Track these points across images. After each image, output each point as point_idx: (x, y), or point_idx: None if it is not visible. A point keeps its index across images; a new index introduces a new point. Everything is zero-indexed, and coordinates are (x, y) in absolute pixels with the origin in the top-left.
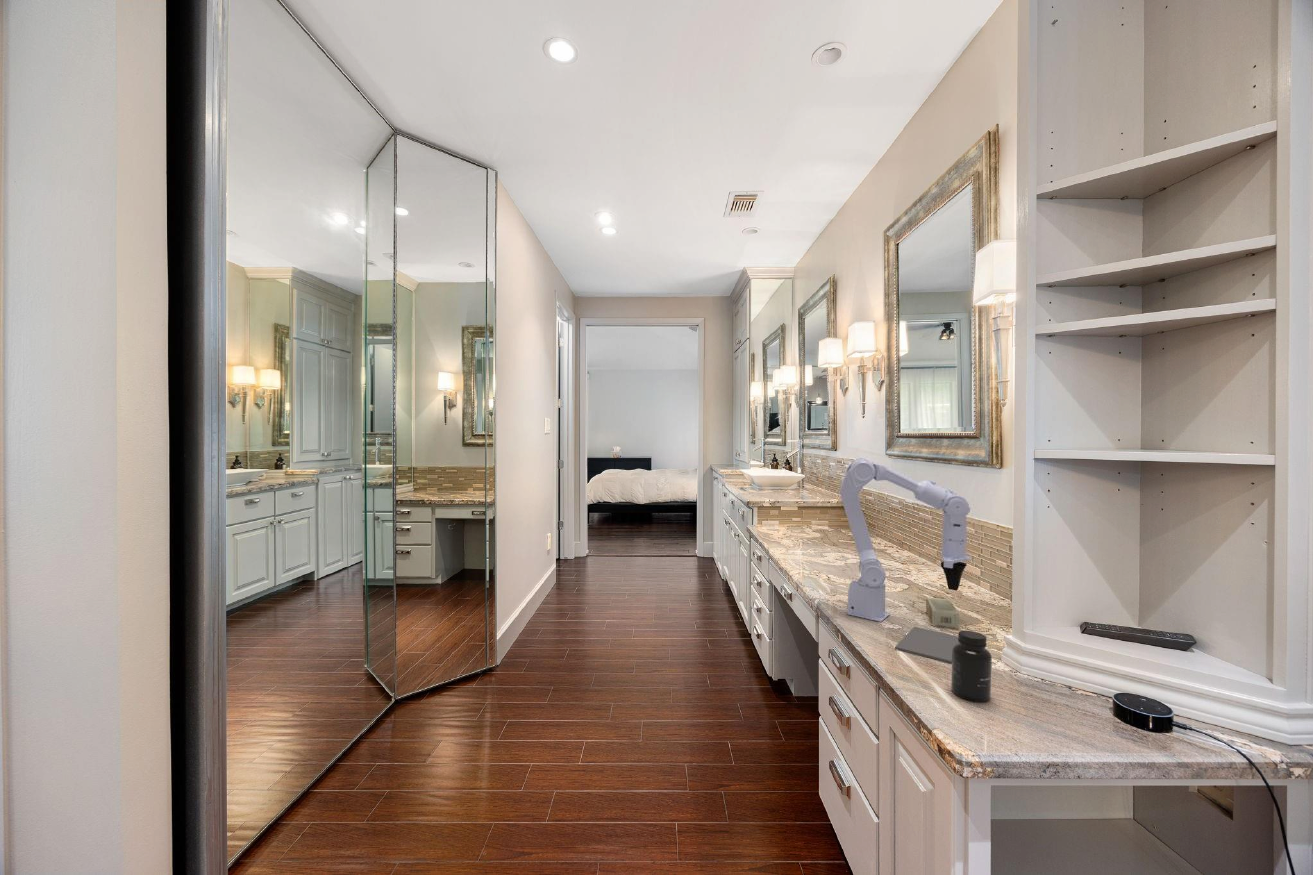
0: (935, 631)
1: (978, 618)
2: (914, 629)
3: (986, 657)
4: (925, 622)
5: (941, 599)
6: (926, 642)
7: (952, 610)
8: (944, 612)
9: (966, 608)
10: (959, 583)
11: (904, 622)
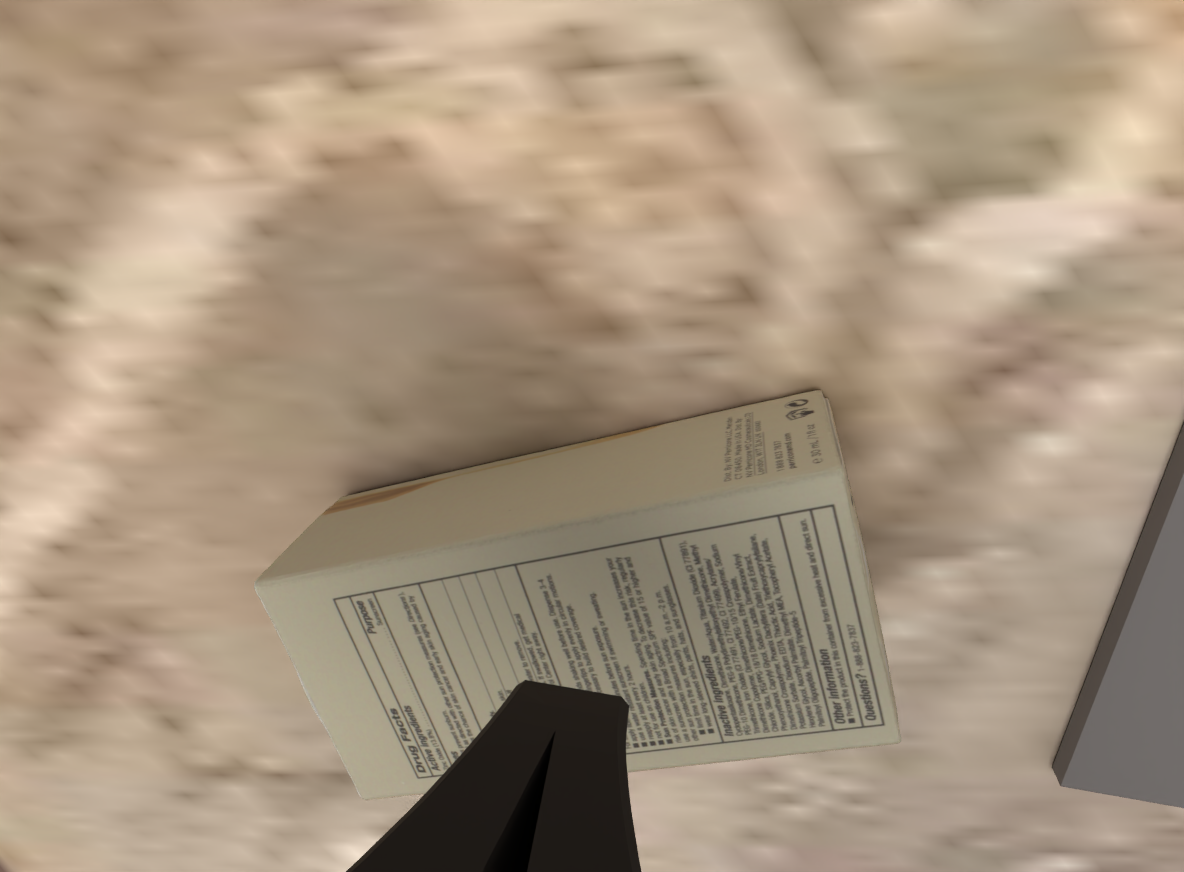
0: (1138, 609)
1: (254, 209)
2: (1167, 783)
3: None
4: None
5: (330, 667)
6: None
7: (748, 547)
8: (873, 628)
9: (9, 350)
10: (488, 760)
11: (887, 835)
